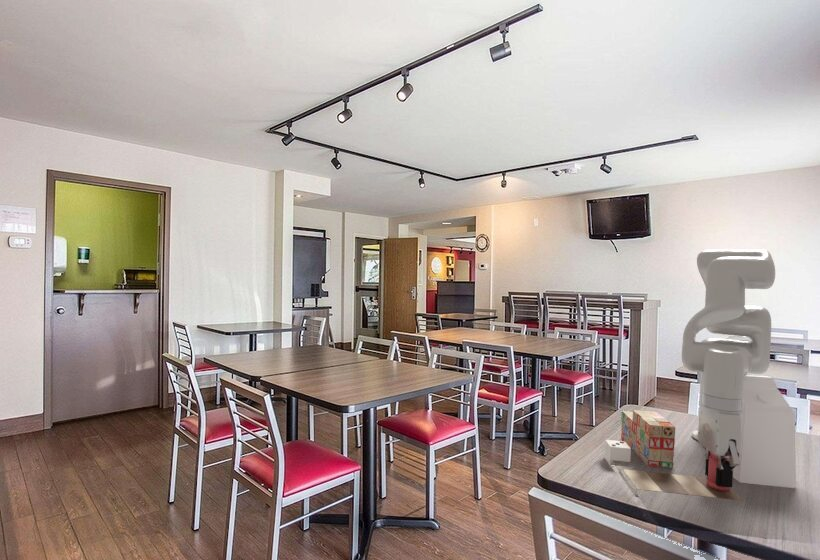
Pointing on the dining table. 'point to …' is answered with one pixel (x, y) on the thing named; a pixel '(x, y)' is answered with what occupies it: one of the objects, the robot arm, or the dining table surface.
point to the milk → (766, 435)
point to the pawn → (714, 472)
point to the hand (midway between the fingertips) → (718, 480)
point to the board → (674, 484)
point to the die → (617, 451)
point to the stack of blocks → (649, 437)
